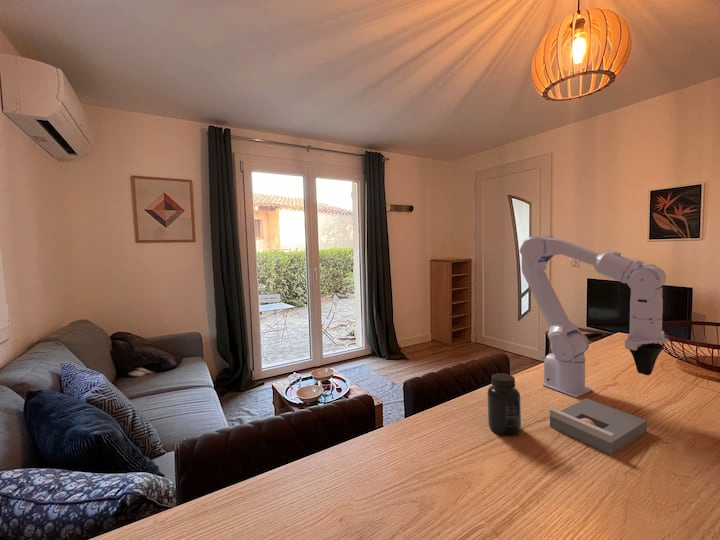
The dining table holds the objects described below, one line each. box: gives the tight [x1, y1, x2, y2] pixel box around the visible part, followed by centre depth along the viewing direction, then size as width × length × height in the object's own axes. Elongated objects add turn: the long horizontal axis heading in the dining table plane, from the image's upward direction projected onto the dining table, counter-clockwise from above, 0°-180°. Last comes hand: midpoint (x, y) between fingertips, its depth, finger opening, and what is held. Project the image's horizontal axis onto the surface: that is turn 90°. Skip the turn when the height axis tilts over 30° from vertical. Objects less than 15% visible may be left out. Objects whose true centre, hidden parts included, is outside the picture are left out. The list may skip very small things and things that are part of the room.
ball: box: [580, 418, 596, 426], centre depth 70 cm, size 4×4×4 cm
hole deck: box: [549, 398, 648, 456], centre depth 72 cm, size 12×15×4 cm
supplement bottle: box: [487, 372, 522, 437], centre depth 74 cm, size 7×7×12 cm
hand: (644, 373), depth 78 cm, fingers closed
